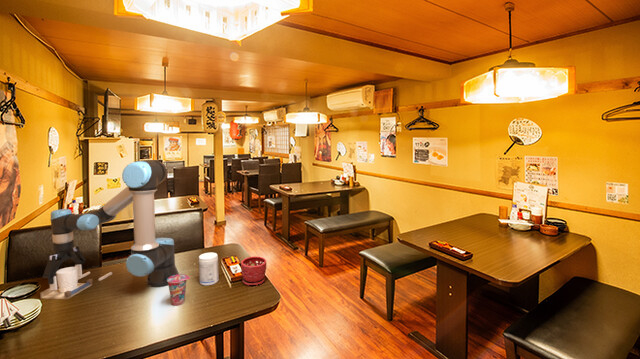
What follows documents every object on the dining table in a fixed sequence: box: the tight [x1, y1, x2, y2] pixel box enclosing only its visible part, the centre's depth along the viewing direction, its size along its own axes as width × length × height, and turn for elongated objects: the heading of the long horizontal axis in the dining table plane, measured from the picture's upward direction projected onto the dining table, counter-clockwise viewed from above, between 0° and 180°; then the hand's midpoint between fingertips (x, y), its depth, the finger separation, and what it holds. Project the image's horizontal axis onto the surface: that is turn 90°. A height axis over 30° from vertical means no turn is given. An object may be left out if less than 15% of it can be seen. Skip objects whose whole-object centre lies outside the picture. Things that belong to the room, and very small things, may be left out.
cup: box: [167, 273, 191, 307], centre depth 131 cm, size 9×8×12 cm
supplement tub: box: [198, 251, 220, 286], centre depth 152 cm, size 10×10×15 cm
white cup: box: [55, 266, 79, 293], centre depth 141 cm, size 8×8×10 cm
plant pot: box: [240, 256, 267, 286], centre depth 152 cm, size 13×13×12 cm
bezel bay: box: [39, 278, 94, 300], centre depth 141 cm, size 13×14×3 cm
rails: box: [78, 271, 113, 282], centre depth 157 cm, size 14×8×1 cm, turn 88°
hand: (67, 283), depth 141 cm, fingers open, 13 cm apart
